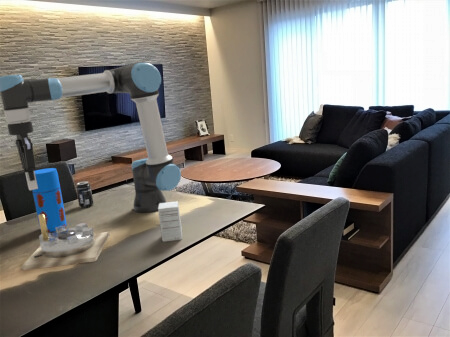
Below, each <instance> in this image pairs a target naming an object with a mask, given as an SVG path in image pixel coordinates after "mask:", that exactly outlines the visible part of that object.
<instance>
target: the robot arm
mask: <svg viewBox="0 0 450 337" xmlns="http://www.w3.org/2000/svg"><path fill="white" fill-rule="evenodd" d="M161 84H162V76H161V73H160V71H159V70H158V68H157V67H156V66H154V65H153V64H152V63H148V62H138V63H133V64H127V65H124V66H120V67H117V68H112V69H105V70H104V71H103V72H100V73H92V74H91V73H90V74H82V75H74V76H64V77H51V78H49V77H48V78H39V79H29V80H27V79H26V80H25V79H24V78H23V76H22V75H21V74H10V75H9V74H8V75H2V76H0V96H1V97H0V98H1V101H2V106H3V109H4V110H3V113H4V117H5V122H6V123H8V124H7V130H8V135H10V136H16V139H15V143H14V144H15V146H16V149H17V151H18V155H19V159H20V163H21V166H22V167H21V168H22V169H23V173H25V174H24V175H25V178H26V183H27V188H28V190H29V191H32V190H34V189H38V186H37V181H36V176H35V172H34V171H36V167H37V166H36V163H35V162H36V161H35V155H34V149H33V148H34V144H33V142H32V139H31V138H29V135H28V134H31V133H33V132H34V128H33V122H32V121H31V119H32V118H31V114H32V111H31V110H30V107H29V106H30V105H29V104H30V103H38V102H46V101H47V102H48V101H55V100H60V99H61V98H62V99H63V98H68V97H76V96H84V95H91V94H97V93H98V94H99V93H105V92H106V93H107V94H129V96H130V100H131V101H133V102H134V103H135V106H136V109H137V110H136V111H137V115H138V119H139V122H140V124H139V125H140V127H141V128H140V129H141V131H142V136H143V141H144V145H145V149H146V154H147V158H142V159H137V160H134V161H132V163H131V171H132V179H133V184H134V190H135V191H134V192H135V195H134V198H133V199H134V201H133V211H135V212H137V213H151V212H152V213H153V212H157V211H158V207H159V203H167V199H166V197H165V194H163V192H165V191H166V192H169V191H172V190H174V189H176V187H177V186H178V185H179V183H180V181H181V177H182V173H181V170H180V167H179V166H177V165H176V164H175V163H174V159H173V156H172V155H171V154H169V152H168V148H167V142H166V138H165V134H164V128H163V125H162V124H163V123H162V119H161V114H160V110H159V105H158V100H157V98H158V97H159V95H160V92H159V89H160V85H161Z"/></svg>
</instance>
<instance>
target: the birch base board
mask: <svg viewBox="0 0 450 337" xmlns="http://www.w3.org/2000/svg"><path fill="white" fill-rule="evenodd" d="M93 234H94V240H95V243H94V245H93V246H91V247H90V248H89V249H87V250H85V251H82V252H80V253H77V254H74V255H70V256H64V257H46V256H44V255H43V254H42V250H41V245H40V244H39V246H38V248H37V249H36V250H35V251H34V252H33V253H32V254H31V255H30V257H29V258H28V259H27V260H26V261H25V262H24V263H23V264H22V266H21V267H22V270H23V271H27V270H35V269H42V268H51V267H59V266H67V265H69V266H70V265H76V264H82V263H83V264H84V263H92V262H97V261H98V258H99V256H100V254H101V252H102V250H103V249H104V247H105V245H106V243H107V241H108V240H109V237H110V231H105V232H96V233H95V232H93Z"/></svg>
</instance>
